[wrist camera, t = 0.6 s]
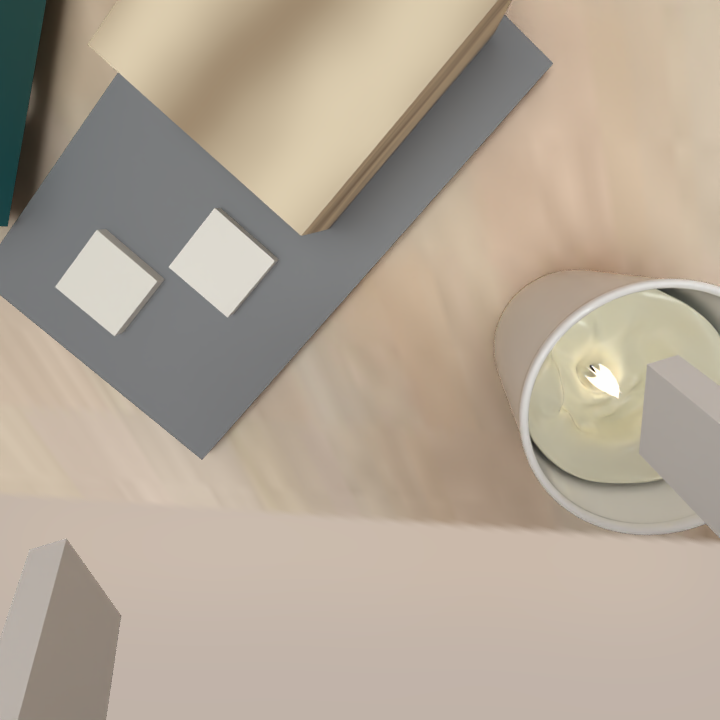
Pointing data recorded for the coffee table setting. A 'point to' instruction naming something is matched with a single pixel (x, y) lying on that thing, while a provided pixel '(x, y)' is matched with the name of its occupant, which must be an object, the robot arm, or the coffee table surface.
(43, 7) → the teal l-shaped bracket
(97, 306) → the white square tile
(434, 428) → the coffee table surface
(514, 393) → the candle holder
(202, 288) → the cream flat square
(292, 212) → the block
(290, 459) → the coffee table surface
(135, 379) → the board
